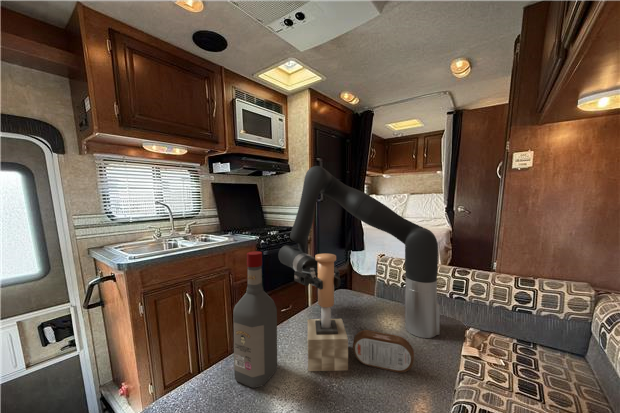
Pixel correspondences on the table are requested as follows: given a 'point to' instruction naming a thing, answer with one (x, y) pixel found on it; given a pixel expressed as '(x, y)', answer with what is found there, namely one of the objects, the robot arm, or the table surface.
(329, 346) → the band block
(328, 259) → the flanged tan peg
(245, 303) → the liquor
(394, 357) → the tin
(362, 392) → the table surface
